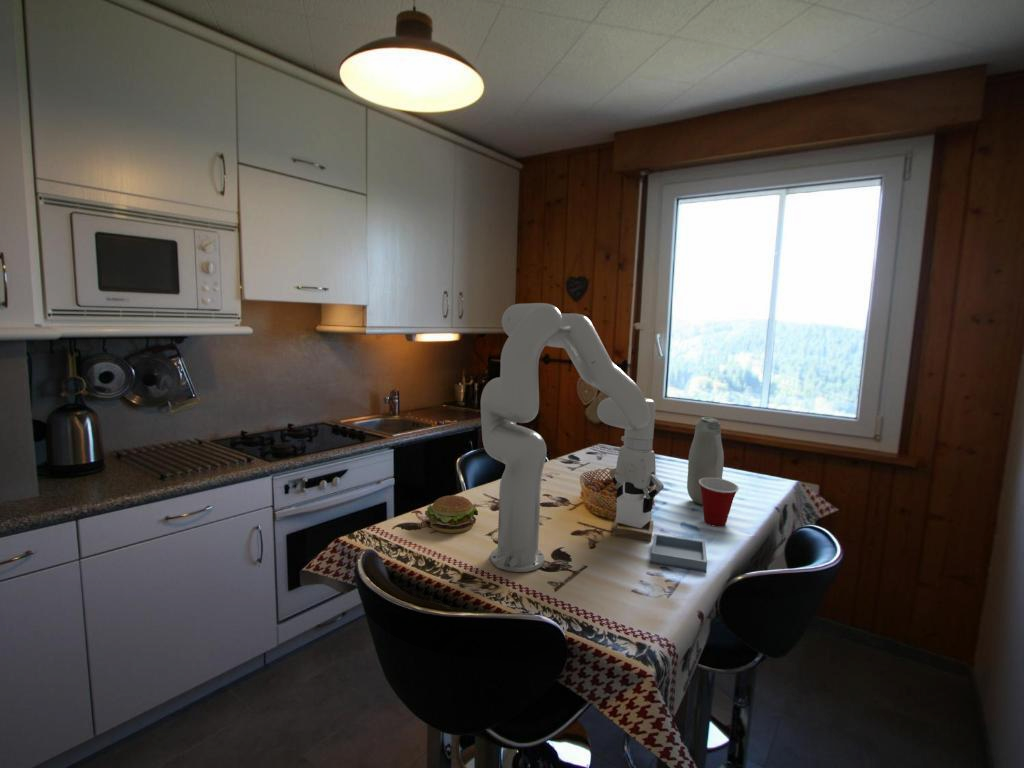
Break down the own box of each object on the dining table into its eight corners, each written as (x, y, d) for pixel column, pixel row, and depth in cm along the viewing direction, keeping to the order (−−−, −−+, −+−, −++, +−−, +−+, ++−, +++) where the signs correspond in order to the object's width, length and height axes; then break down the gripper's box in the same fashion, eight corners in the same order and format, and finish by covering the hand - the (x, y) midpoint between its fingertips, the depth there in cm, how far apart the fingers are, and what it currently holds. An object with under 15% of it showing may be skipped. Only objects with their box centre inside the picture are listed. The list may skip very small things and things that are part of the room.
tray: (706, 572, 121) (707, 562, 121) (650, 563, 125) (651, 553, 124) (704, 550, 133) (705, 541, 132) (653, 543, 136) (654, 533, 136)
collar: (650, 541, 137) (651, 534, 137) (611, 535, 140) (611, 528, 140) (653, 527, 147) (653, 520, 147) (616, 522, 150) (616, 515, 150)
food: (414, 525, 143) (415, 497, 142) (455, 513, 153) (455, 486, 152) (446, 541, 133) (446, 511, 132) (487, 527, 143) (488, 499, 142)
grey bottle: (726, 507, 166) (733, 419, 163) (700, 510, 163) (707, 421, 159) (704, 497, 176) (710, 414, 172) (679, 499, 172) (685, 415, 169)
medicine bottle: (651, 520, 144) (652, 477, 142) (640, 529, 138) (641, 485, 137) (627, 514, 148) (627, 473, 147) (616, 522, 143) (616, 480, 141)
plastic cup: (711, 531, 145) (714, 489, 144) (687, 517, 156) (691, 478, 154) (744, 528, 148) (747, 487, 147) (719, 515, 159) (722, 476, 157)
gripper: (603, 439, 145) (599, 501, 147) (658, 452, 132) (653, 519, 134) (619, 436, 150) (615, 496, 152) (674, 448, 137) (669, 513, 139)
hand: (633, 506), depth 143 cm, fingers closed on medicine bottle, 8 cm apart
